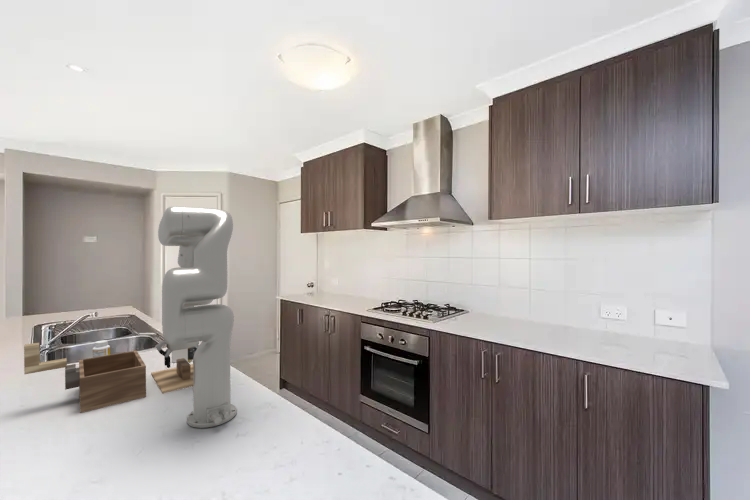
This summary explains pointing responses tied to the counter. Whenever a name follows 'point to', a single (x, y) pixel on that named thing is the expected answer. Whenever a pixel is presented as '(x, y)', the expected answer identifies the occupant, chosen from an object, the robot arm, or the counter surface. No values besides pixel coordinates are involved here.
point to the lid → (174, 377)
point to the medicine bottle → (183, 354)
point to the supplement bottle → (101, 348)
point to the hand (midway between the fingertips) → (183, 363)
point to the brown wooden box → (107, 379)
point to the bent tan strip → (33, 360)
